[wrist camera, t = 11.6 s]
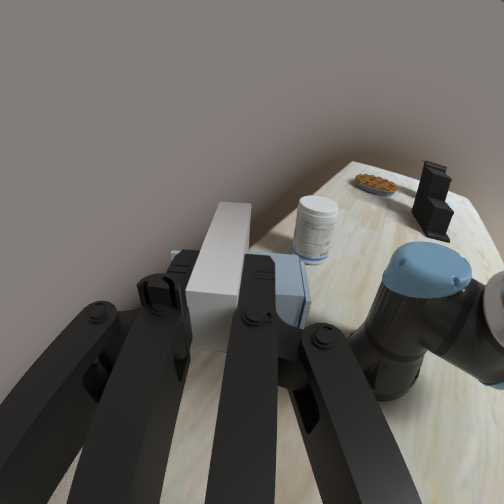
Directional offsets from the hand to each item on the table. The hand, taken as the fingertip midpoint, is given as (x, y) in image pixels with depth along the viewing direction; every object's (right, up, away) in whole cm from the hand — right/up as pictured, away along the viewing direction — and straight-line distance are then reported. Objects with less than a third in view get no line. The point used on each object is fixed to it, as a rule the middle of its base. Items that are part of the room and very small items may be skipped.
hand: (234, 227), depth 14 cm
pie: (+60, +29, +111) cm, 130 cm away
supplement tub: (+15, -2, +58) cm, 60 cm away
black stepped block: (+71, +9, +81) cm, 108 cm away
